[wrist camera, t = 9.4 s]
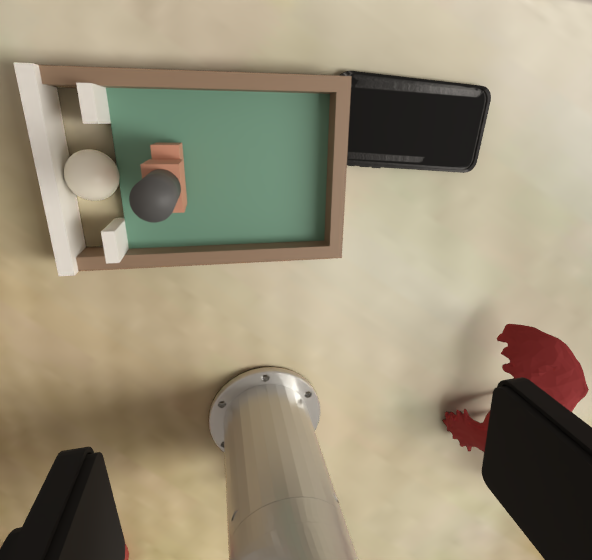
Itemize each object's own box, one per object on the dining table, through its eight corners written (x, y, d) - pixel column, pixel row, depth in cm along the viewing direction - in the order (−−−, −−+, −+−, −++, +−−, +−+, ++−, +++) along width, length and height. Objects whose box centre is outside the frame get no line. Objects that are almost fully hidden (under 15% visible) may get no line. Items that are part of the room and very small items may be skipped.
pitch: (332, 248, 41) (348, 264, 36) (73, 260, 37) (54, 280, 32) (340, 79, 35) (359, 73, 31) (36, 69, 31) (6, 60, 26)
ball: (88, 195, 35) (132, 197, 35) (57, 203, 32) (105, 205, 31) (80, 147, 34) (125, 148, 33) (46, 150, 30) (96, 151, 30)
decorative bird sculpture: (464, 460, 62) (583, 498, 53) (445, 511, 56) (576, 564, 47) (447, 301, 51) (594, 314, 42) (421, 342, 45) (587, 369, 36)
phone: (338, 69, 34) (493, 87, 37) (335, 70, 35) (486, 88, 39) (328, 165, 37) (474, 174, 40) (325, 164, 38) (467, 173, 41)
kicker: (189, 203, 35) (179, 244, 23) (161, 203, 35) (135, 245, 23) (184, 142, 34) (170, 153, 22) (154, 142, 33) (122, 153, 21)
